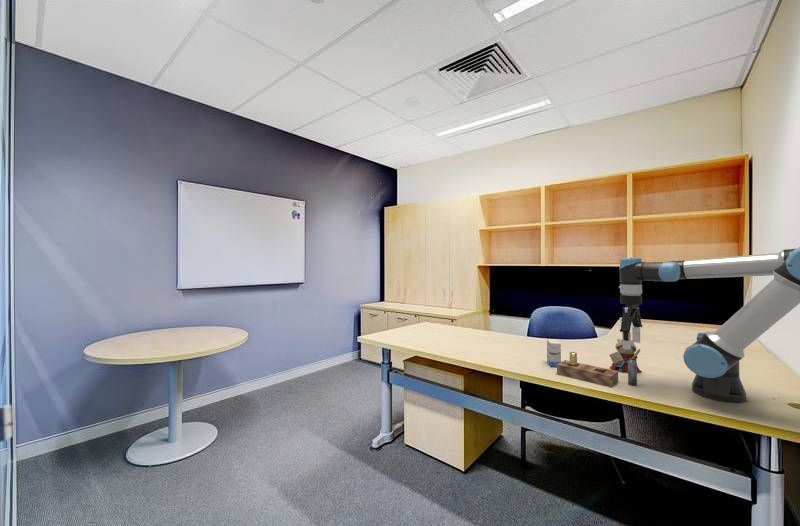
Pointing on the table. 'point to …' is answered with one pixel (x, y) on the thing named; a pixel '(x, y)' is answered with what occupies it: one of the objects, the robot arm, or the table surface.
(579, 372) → the hole block
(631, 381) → the steel peg
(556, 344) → the ink box
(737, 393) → the robot arm
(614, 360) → the figurine
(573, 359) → the brass peg
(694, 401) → the table surface
